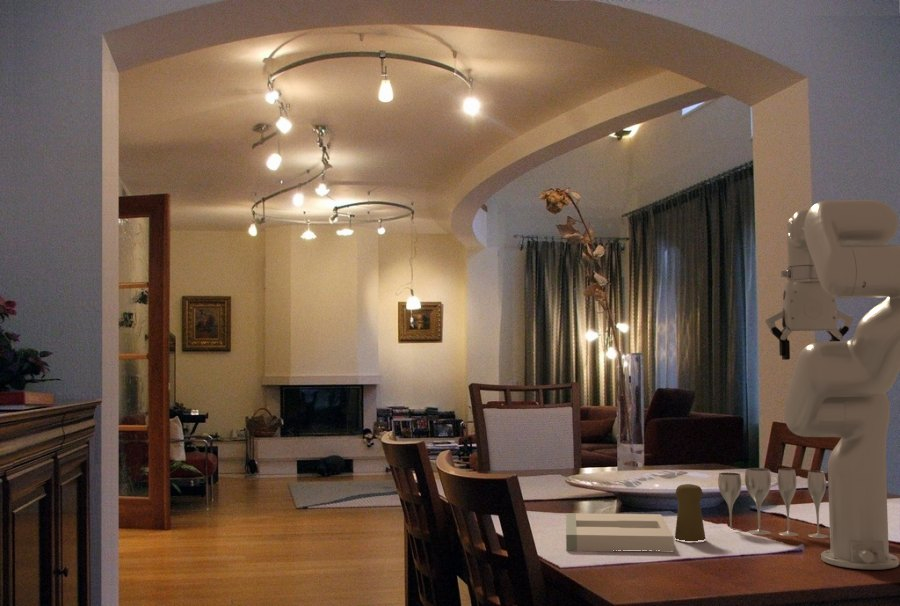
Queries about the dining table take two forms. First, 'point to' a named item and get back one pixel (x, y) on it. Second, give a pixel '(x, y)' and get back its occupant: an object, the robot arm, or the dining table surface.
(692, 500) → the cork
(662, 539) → the beige flat rimmed tray
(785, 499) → the goblet set
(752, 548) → the dining table surface
